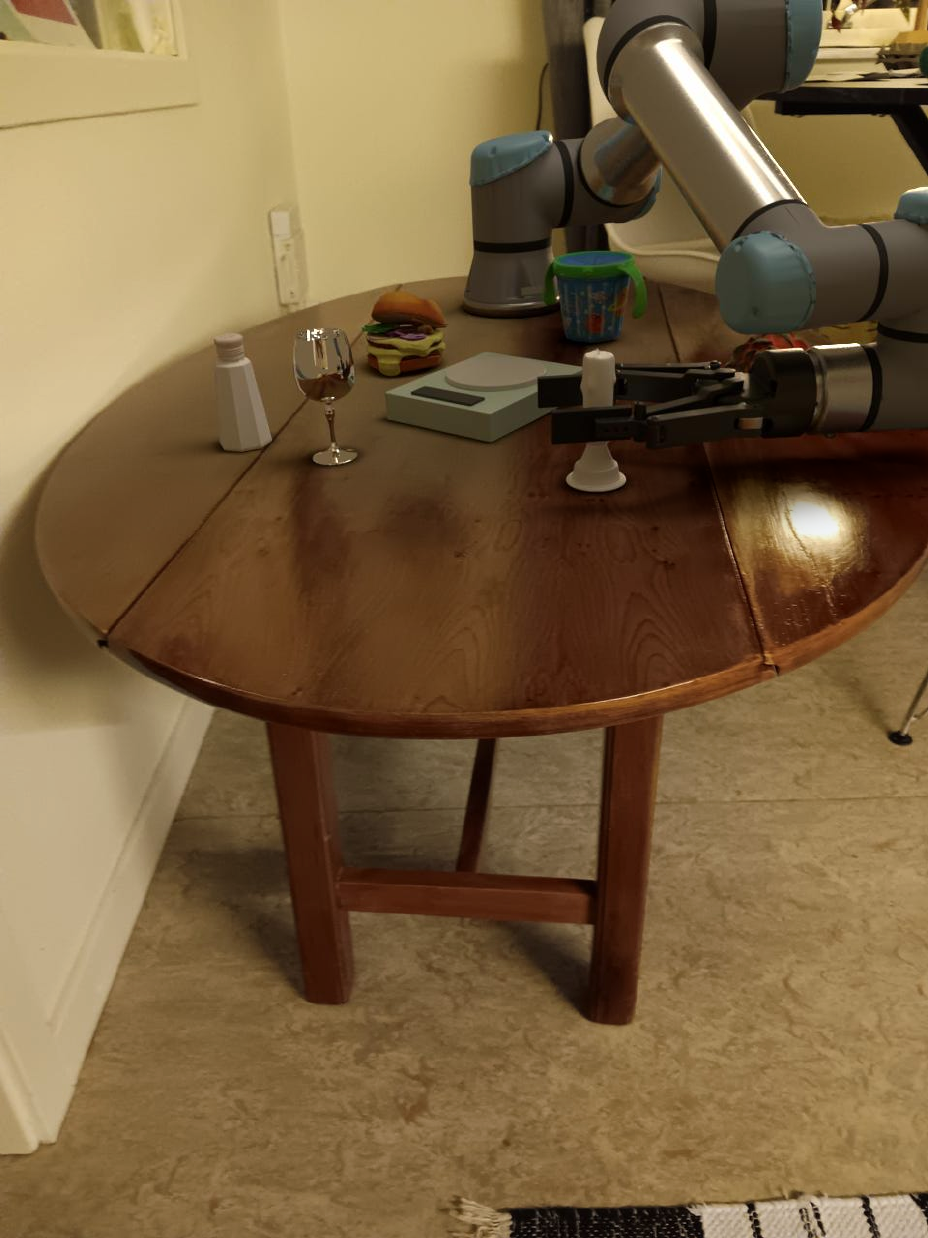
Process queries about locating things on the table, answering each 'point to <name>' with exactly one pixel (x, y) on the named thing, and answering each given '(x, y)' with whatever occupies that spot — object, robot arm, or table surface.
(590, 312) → the snack cup
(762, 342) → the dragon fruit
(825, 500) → the table surface
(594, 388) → the candle
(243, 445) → the pepper shaker
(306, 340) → the wineglass
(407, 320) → the cheeseburger
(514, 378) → the kitchen scale
